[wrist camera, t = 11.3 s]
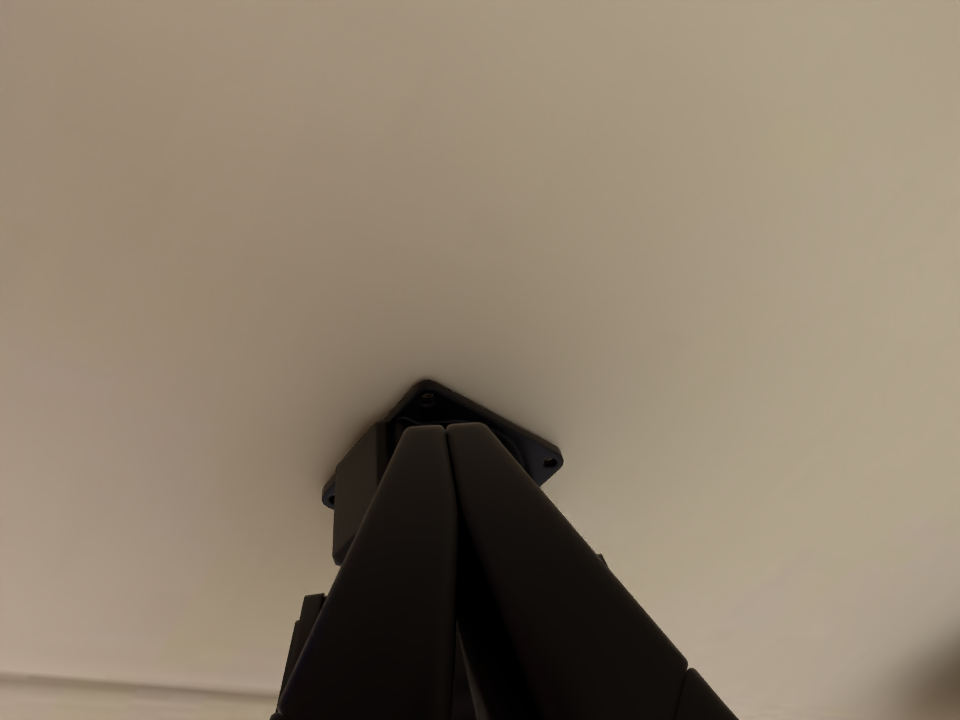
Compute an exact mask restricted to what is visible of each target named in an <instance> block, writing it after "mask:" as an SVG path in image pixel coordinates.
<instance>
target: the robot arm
mask: <svg viewBox="0 0 960 720" xmlns="http://www.w3.org/2000/svg"><path fill="white" fill-rule="evenodd" d="M428 393H429V394H433V396H431V397H428V398H425V397H422V395H424V394H428ZM549 458H552V459H551V460H547V461H546V459H549ZM562 465H563V457H562V454H561V451H560V449H559V448H558V447H556V446H554V445H552V444H550V443H549V442H547V441H545V440H543V439H541V438H539V437H538V436H536V435H534V434H532V433H530V432H528V431H526V430H525V429H523V428H521V427H519V426H517V425H515V424H513V423H512V422H510V421H508V420H506V419H504V418H502V417H500V416H499V415H497V414H495V413H493V412H491V411H489V410H487V409H486V408H484V407H482V406H480V405H478V404H476V403H474V402H473V401H471V400H469V399H467V398H465V397H463V396H461V395H460V394H458V393H456V392H454V391H452V390H450V389H448V388H447V387H445V386H443V385H441V384H439V383H437V382H435V381H432V380H424V381H421V382H418V383H417V384H416V385H415V386H414V387H413V388H412V389H411V390H410V391H409V392H408V393H407V394H406V396H405V397H404V398H403V399H402V400H401V401H400V402H399V403H398V404H397V406H396V407H395V408H394V409H393V410H392V411H391V412H390V413H389V415H388V416H387V417H386V418H385V419H384V420H381V421H379V422H376V423H375V424H374V425H373V426H372V427H371V428H370V429H369V430H368V431H367V432H366V434H365V435H364V436H363V437H362V438H361V439H360V440H359V441H358V443H357V444H356V445H355V446H354V447H353V448H352V449H351V450H350V452H349V453H348V454H347V455H346V456H345V457H344V458H343V459H342V461H341V462H340V463H339V464H338V465H337V467H336V474H335V475H334V476H333V477H332V478H331V479H330V480H329V481H328V483H327V484H326V485H325V486H324V488H323V490H322V502H323V504H324V505H325V506H327V507H328V508H331V509H333V510H334V528H333V552H332V556H333V559H334V562H335V564H336V565H338V566H340V567H341V568H340V570H339V572H338V574H337V576H336V579H335V581H334V583H333V585H332V587H331V589H330V592H329V594H328V596H325V594H324V593H321V594H314V595H307V596H305V597H304V601H303V606H302V610H301V615H300V620H298V621H296V623H295V627H294V631H293V636H292V640H291V645H290V649H289V654H288V658H287V663H286V667H285V672H284V676H283V681H282V685H281V690H280V695H279V699H278V704H277V708H276V713H274V714H273V715H272V716H271V718H270V720H739V719H738V718H737V717H736V716H735V715H734V714H733V713H732V711H731V710H730V709H729V708H728V707H727V706H726V705H725V704H724V703H723V701H722V700H721V699H720V698H719V697H718V695H717V694H716V693H715V692H714V691H713V690H712V688H711V687H710V686H709V685H708V684H707V682H706V681H705V680H704V679H703V678H702V677H701V675H700V674H699V673H698V672H697V671H696V670H695V669H694V668H689V669H688V670H687V667H688V661H687V660H686V658H685V657H684V656H683V655H682V654H681V652H680V651H679V650H678V649H677V648H676V647H675V645H674V644H673V643H672V642H671V641H670V640H669V638H668V637H667V636H666V635H665V634H664V633H663V631H662V630H661V629H660V628H659V627H658V626H657V624H656V623H655V622H654V621H653V620H652V619H651V617H650V616H649V615H648V614H647V613H646V612H645V610H644V609H643V608H642V607H641V606H640V605H639V603H638V602H637V601H636V600H635V599H634V597H633V596H632V595H631V594H630V593H629V592H628V590H627V589H626V588H625V587H624V586H623V585H622V583H621V582H620V581H619V580H618V579H617V578H616V576H615V575H614V574H613V573H612V572H611V571H610V569H609V568H608V566H607V564H606V562H605V560H604V558H603V556H602V554H596V553H595V552H594V551H593V550H592V548H591V547H590V546H589V545H588V544H587V543H586V541H585V540H584V539H583V538H582V537H581V536H580V534H579V533H578V532H577V531H576V530H575V529H574V527H573V526H572V525H571V524H570V523H569V522H568V520H567V519H566V518H565V517H564V516H563V515H562V513H561V512H560V511H559V510H558V509H557V507H556V506H555V505H554V504H553V503H552V502H551V500H550V499H549V498H548V497H547V496H546V495H545V493H544V492H543V491H542V490H541V489H540V488H539V487H540V486H541V485H542V484H543V483H544V482H546V481H547V480H548V479H549V478H550V477H551V476H552V475H553V474H554V473H555V472H557V471H558V470H559V469H560V468H561V466H562ZM334 495H335V496H334Z"/></svg>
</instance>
